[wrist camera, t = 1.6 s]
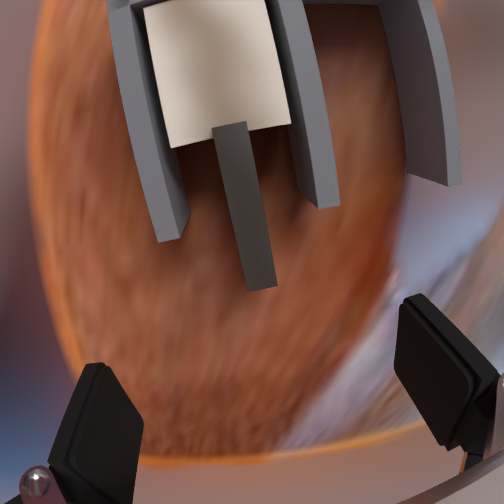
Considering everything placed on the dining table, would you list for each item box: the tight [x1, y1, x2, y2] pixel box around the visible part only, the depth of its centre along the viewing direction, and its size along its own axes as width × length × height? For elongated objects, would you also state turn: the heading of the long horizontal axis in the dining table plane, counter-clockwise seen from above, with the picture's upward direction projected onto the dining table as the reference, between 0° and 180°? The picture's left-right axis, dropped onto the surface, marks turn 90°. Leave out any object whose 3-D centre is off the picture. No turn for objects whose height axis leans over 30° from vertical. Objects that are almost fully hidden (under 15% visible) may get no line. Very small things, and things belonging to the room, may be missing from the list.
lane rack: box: [106, 0, 462, 243], centre depth 16 cm, size 18×14×5 cm
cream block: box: [143, 0, 291, 292], centre depth 16 cm, size 6×16×6 cm, turn 11°
